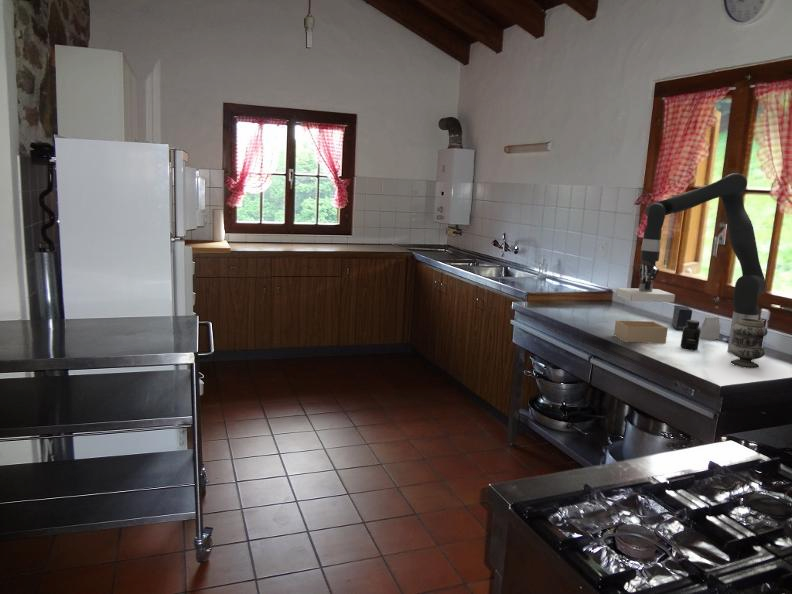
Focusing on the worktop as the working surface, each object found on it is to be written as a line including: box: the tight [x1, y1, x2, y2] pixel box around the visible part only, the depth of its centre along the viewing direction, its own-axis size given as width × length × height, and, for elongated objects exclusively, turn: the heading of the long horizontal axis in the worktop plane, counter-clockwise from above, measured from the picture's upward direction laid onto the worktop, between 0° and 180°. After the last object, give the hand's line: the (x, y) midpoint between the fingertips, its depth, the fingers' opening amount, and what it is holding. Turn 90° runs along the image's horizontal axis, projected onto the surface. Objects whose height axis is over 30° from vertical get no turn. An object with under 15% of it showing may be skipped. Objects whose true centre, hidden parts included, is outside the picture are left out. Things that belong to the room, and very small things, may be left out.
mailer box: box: [613, 320, 668, 344], centre depth 277 cm, size 12×18×7 cm, turn 97°
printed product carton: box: [700, 316, 721, 341], centre depth 285 cm, size 4×7×10 cm, turn 101°
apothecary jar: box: [729, 318, 768, 369], centre depth 243 cm, size 12×12×18 cm
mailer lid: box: [615, 283, 676, 303], centre depth 273 cm, size 14×20×6 cm
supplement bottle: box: [680, 319, 701, 351], centre depth 265 cm, size 7×7×12 cm
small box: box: [670, 304, 693, 331], centre depth 304 cm, size 11×6×10 cm, turn 168°
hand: (645, 289), depth 273 cm, fingers closed on mailer lid
